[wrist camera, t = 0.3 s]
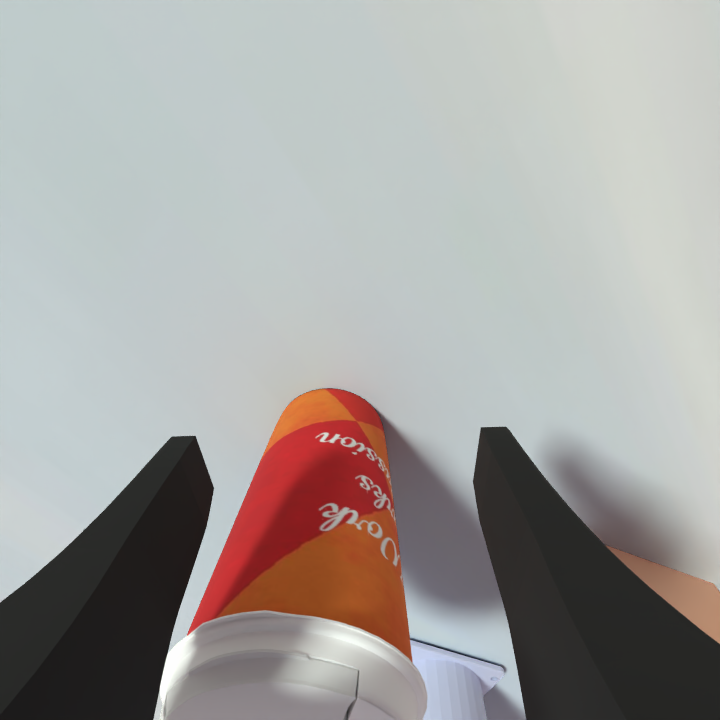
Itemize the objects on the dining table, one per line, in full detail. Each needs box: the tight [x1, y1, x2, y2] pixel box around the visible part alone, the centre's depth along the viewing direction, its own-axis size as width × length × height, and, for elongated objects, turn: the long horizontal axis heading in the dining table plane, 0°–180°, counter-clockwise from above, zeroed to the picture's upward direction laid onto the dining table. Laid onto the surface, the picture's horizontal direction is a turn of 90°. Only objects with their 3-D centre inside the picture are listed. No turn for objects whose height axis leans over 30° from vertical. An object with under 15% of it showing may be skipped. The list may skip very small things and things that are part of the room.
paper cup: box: [160, 388, 428, 720], centre depth 19 cm, size 8×8×14 cm
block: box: [605, 545, 720, 644], centre depth 27 cm, size 10×4×6 cm, turn 67°
